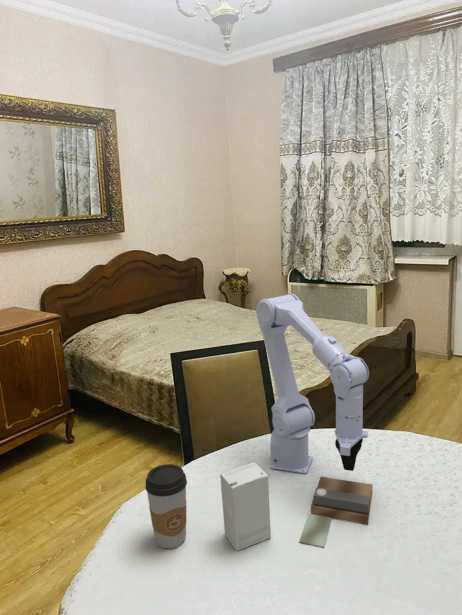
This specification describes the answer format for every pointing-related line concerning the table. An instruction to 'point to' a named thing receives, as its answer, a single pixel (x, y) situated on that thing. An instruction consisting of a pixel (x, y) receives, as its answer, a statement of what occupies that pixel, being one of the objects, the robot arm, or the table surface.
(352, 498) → the gray rectangular bar
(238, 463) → the table surface
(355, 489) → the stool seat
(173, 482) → the coffee cup
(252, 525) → the skincare box
